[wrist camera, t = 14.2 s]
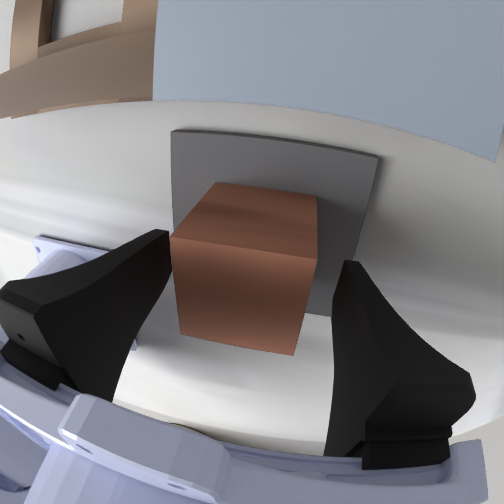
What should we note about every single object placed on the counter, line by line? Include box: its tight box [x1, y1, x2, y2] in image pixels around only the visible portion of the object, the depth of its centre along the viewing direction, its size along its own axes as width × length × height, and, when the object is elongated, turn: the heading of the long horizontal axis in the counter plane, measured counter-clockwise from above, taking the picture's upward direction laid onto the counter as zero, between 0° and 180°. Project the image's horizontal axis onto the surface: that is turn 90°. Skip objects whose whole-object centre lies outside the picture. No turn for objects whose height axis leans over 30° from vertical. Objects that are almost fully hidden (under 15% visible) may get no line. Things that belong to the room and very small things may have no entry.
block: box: [170, 182, 318, 356], centre depth 12 cm, size 4×4×5 cm
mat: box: [171, 130, 378, 317], centre depth 14 cm, size 9×9×1 cm
